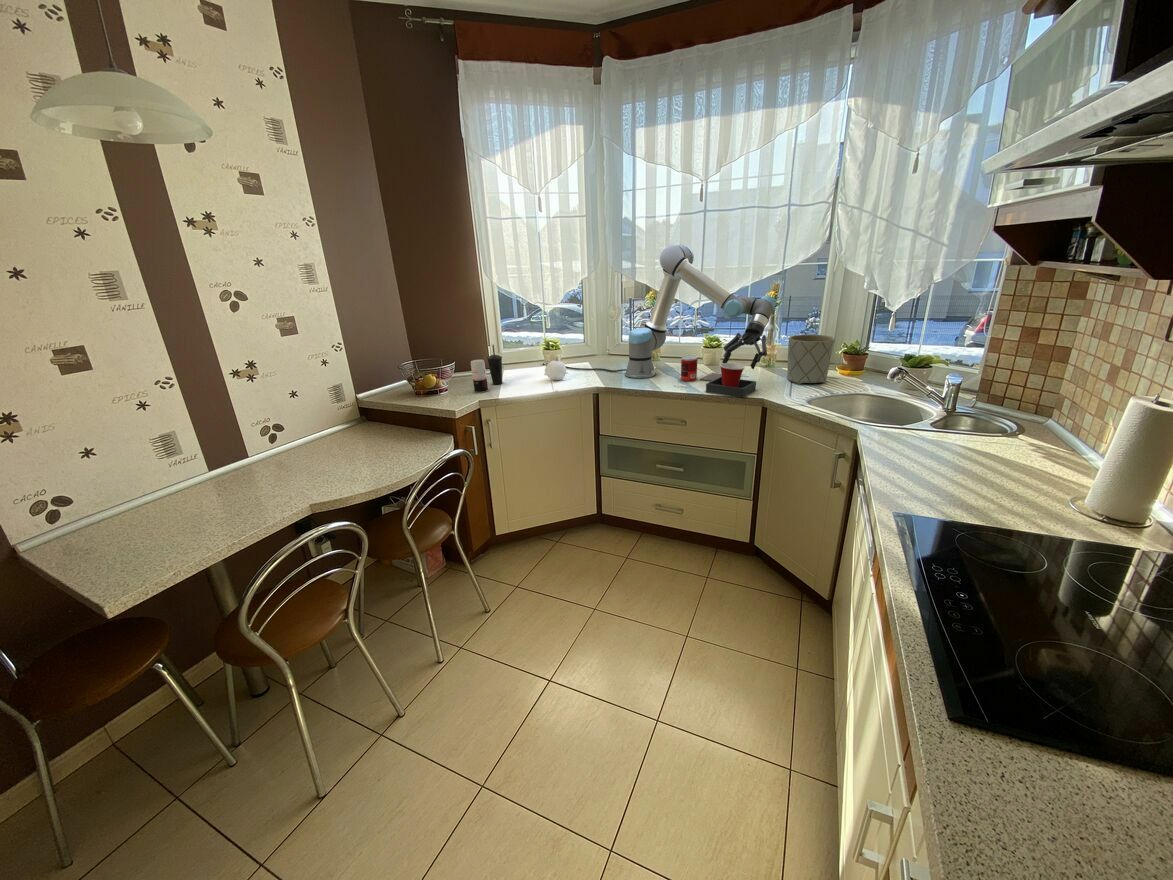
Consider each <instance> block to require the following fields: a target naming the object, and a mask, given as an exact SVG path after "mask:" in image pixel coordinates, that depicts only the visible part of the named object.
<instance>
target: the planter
mask: <svg viewBox="0 0 1173 880" xmlns="http://www.w3.org/2000/svg"><path fill="white" fill-rule="evenodd" d="M835 340H836V338H835V337H833V336H829V335H826V334H825V335H824V334H795V335H791V336H789V337H788V346H787V367H786V369H787V371H786V372H787V373H786V378H787V380H789V381H791V382H793V383H794V384H796V385H801V384H816V383H817V384H818V383H822V384H825V383H826V381H827V379H828V374H829V369H830V364H831V360H832V355H833V350H834V346H835Z"/></svg>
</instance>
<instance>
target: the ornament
mask: <svg viewBox="0 0 1173 880" xmlns="http://www.w3.org/2000/svg"><path fill="white" fill-rule="evenodd" d="M554 359H555V360H554ZM554 359H553V360H551V361H548V362H549V363H547V364H546V367H545V373H546V376H547V377H548V379H550V380H551V381H561V380H562V379H564V378H565V376H566V375H567V368H566V365H565V363H564V362H563V361H561V360H559V357H558V356H555V358H554Z"/></svg>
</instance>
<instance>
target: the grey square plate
mask: <svg viewBox="0 0 1173 880" xmlns="http://www.w3.org/2000/svg"><path fill="white" fill-rule="evenodd" d="M719 377H722V374H721V373H718V372H717V373H716V372H712V373H709V374H708V375H707V374H706V375H705V376H703V377H701V378H699V381H705V382H711V381H713V380H715V379H717V378H719Z"/></svg>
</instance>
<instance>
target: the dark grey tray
mask: <svg viewBox="0 0 1173 880" xmlns="http://www.w3.org/2000/svg"><path fill="white" fill-rule="evenodd" d="M756 390H757V381H755V380H750V379H749V380H748V379H741V378H740V382H739V385H738V388H736V387H729V386H723V384H722V377H719V378H717V379H715V380H713V381H708V382H707V383H705V393H708V394H715V395H723V396H727V397H734V398H740V399H743V398H745V397H746V396H748V395H750V394H752V393H754V392H756Z"/></svg>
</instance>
